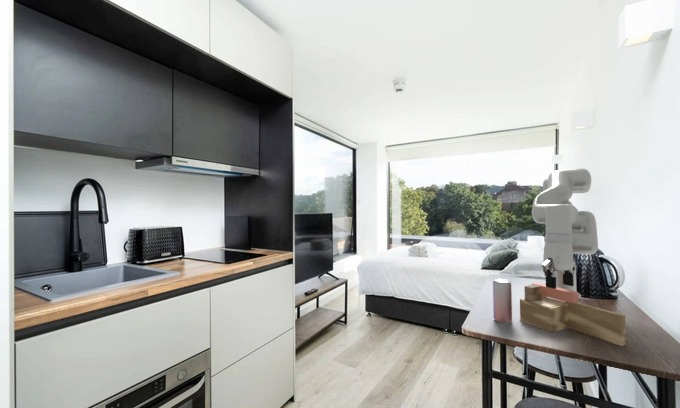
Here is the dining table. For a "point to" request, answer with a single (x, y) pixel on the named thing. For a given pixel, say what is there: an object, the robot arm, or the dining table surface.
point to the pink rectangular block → (559, 293)
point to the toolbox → (576, 320)
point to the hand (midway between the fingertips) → (559, 286)
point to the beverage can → (502, 301)
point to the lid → (540, 297)
